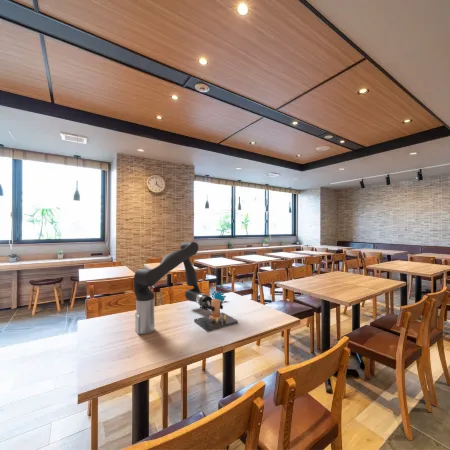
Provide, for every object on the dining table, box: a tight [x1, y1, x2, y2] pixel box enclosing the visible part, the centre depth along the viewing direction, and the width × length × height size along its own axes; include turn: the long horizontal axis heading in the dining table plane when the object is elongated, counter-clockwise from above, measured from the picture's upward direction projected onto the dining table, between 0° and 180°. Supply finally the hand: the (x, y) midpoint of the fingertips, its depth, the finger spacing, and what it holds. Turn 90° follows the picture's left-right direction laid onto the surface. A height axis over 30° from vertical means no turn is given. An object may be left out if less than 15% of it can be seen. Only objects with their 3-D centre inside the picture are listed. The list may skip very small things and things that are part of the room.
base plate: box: [193, 312, 239, 333], centre depth 141 cm, size 20×16×6 cm
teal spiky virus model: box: [211, 290, 227, 303], centre depth 179 cm, size 11×6×10 cm
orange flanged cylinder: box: [208, 298, 222, 320], centre depth 141 cm, size 8×8×10 cm
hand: (218, 308), depth 138 cm, fingers closed on orange flanged cylinder, 5 cm apart
